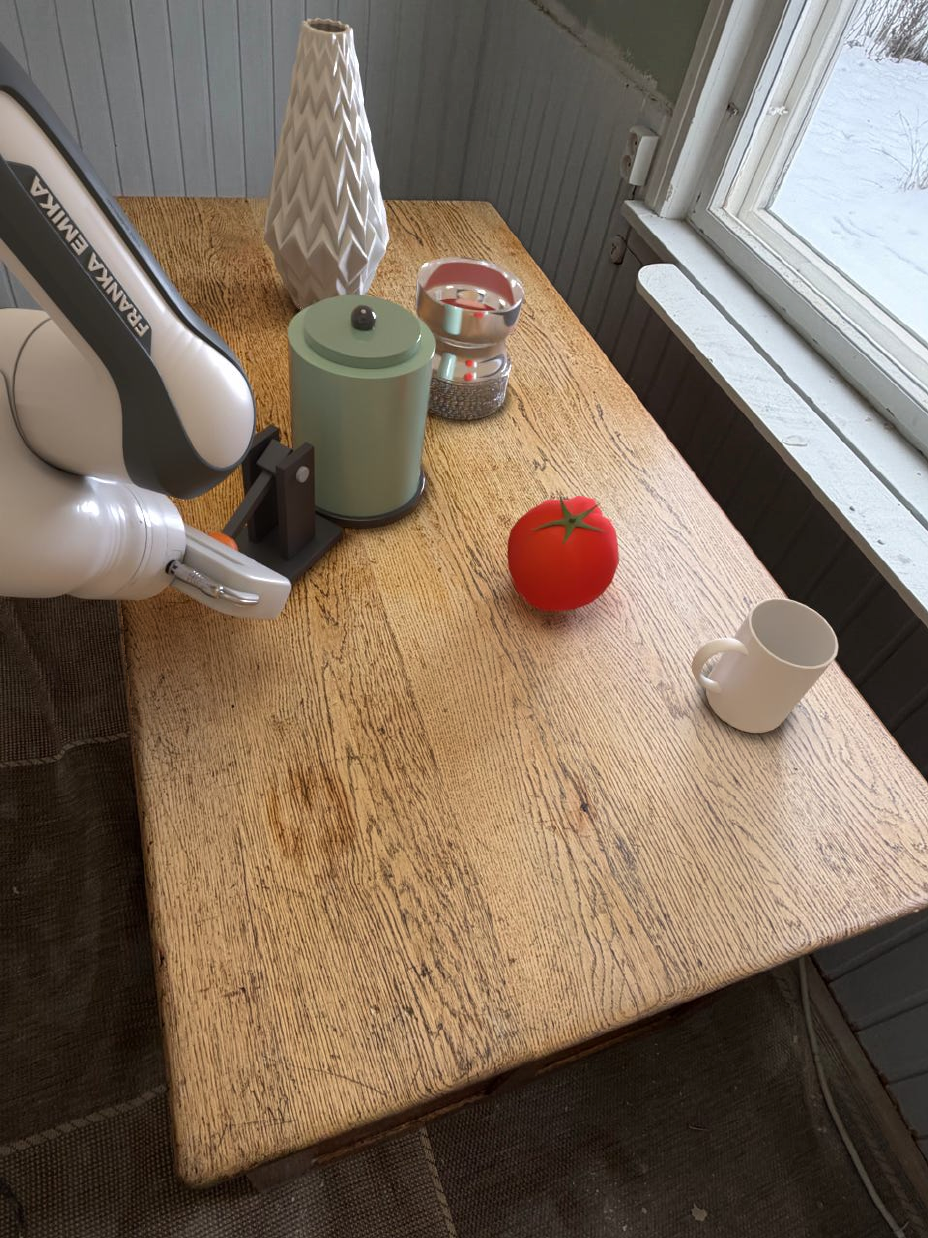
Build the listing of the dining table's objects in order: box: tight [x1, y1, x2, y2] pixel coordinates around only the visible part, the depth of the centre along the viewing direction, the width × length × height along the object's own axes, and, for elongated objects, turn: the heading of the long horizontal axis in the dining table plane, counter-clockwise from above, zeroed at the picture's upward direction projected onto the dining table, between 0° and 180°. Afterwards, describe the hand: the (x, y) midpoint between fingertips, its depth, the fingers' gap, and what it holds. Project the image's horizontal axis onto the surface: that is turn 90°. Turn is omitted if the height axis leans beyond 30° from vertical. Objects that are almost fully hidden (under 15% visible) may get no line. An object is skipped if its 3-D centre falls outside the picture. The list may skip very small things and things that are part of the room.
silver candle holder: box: [414, 256, 525, 421], centre depth 98 cm, size 13×18×15 cm
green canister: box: [286, 294, 436, 529], centre depth 80 cm, size 15×15×21 cm
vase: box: [263, 17, 390, 312], centre depth 99 cm, size 17×17×33 cm
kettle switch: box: [206, 439, 293, 551], centre depth 70 cm, size 13×4×4 cm, turn 150°
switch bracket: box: [235, 423, 344, 586], centre depth 75 cm, size 10×8×13 cm
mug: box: [691, 597, 839, 734], centre depth 71 cm, size 12×8×10 cm, turn 102°
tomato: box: [506, 495, 620, 612], centre depth 77 cm, size 11×13×10 cm
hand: (225, 554), depth 71 cm, fingers closed on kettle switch, 3 cm apart
